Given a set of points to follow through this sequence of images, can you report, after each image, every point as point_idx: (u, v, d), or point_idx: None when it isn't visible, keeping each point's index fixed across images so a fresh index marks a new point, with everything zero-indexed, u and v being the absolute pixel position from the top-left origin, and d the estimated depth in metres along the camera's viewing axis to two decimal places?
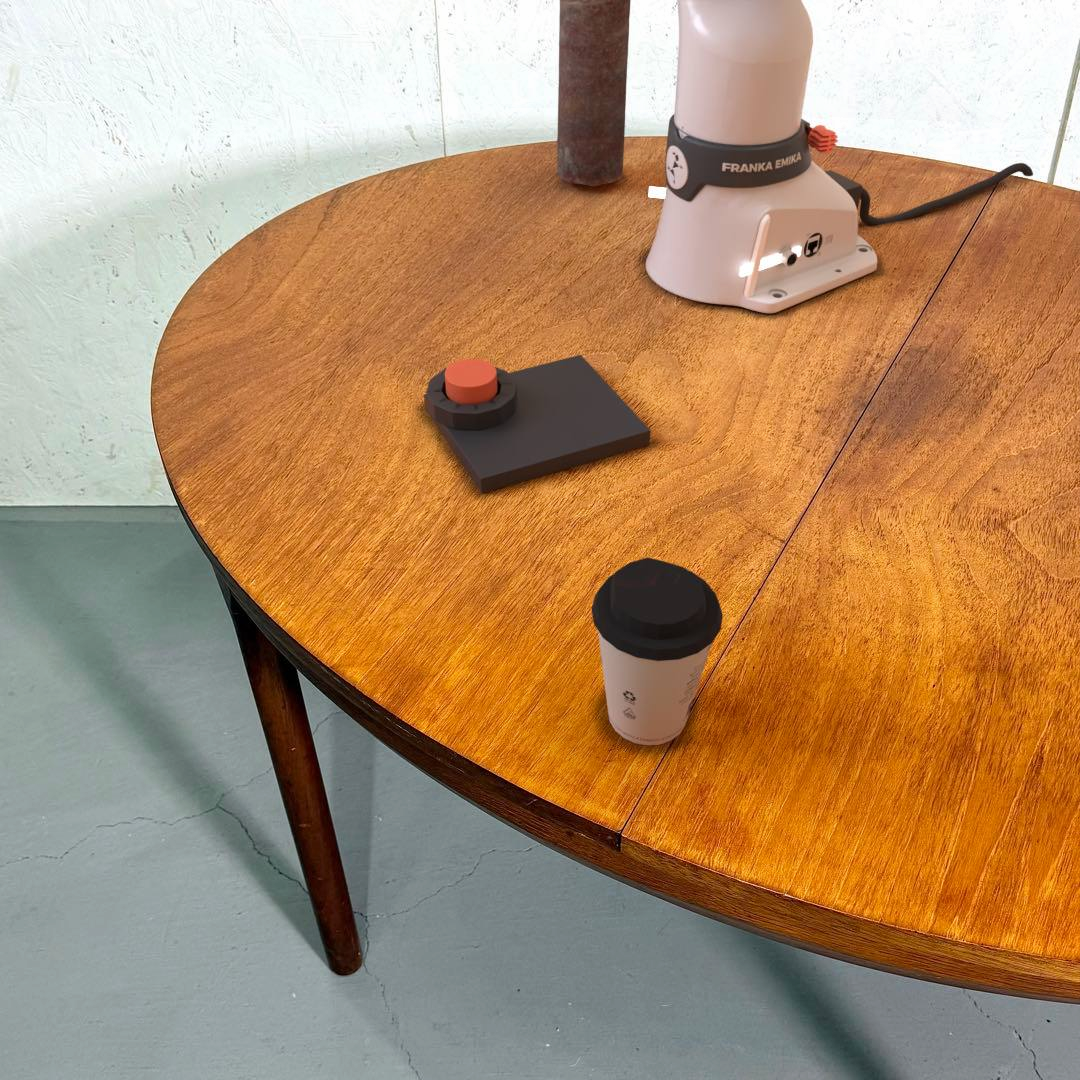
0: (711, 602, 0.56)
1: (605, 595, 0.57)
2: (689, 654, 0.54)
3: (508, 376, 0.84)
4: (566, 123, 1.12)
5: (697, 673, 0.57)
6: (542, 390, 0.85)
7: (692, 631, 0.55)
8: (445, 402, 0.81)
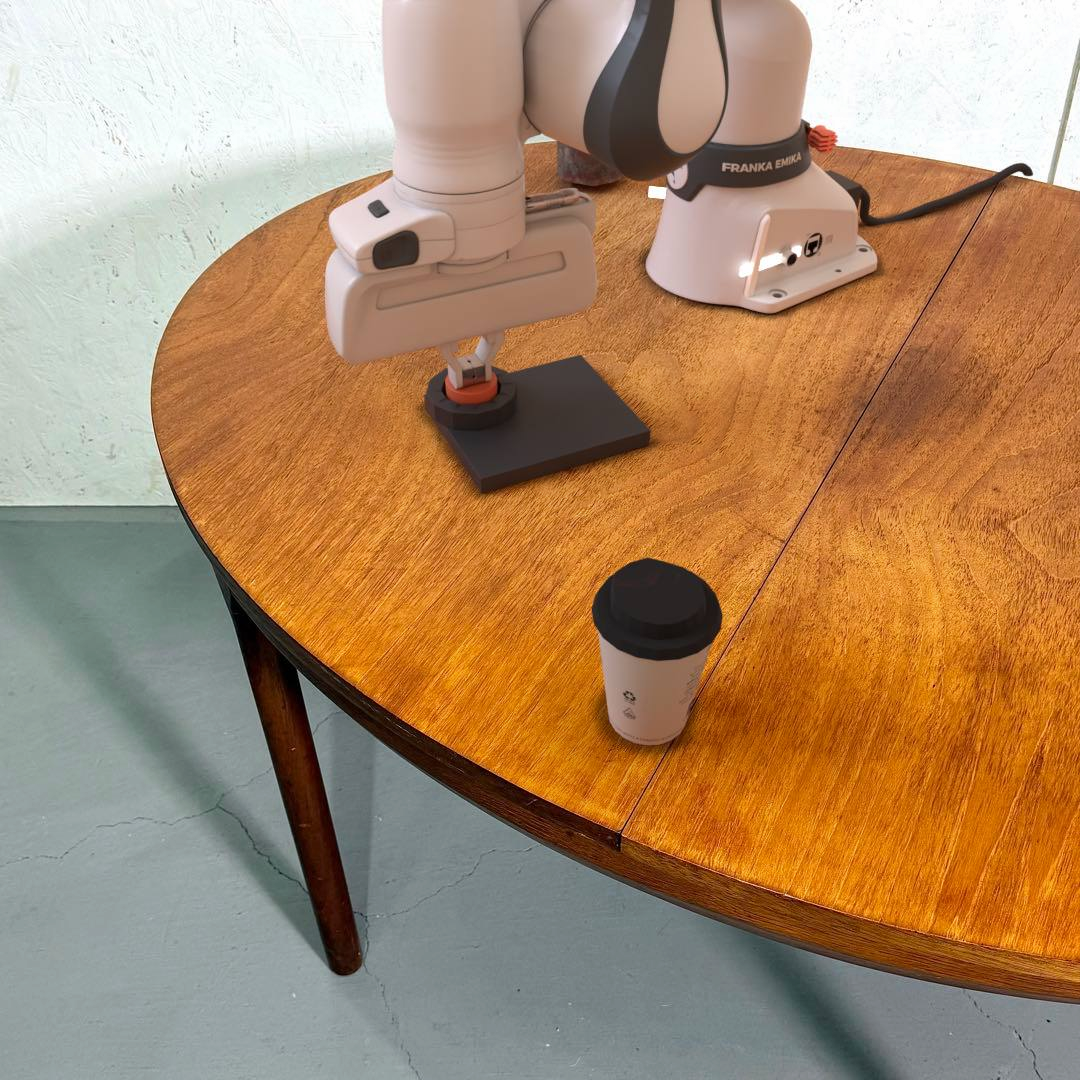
0: (711, 602, 0.56)
1: (605, 595, 0.57)
2: (689, 654, 0.54)
3: (508, 376, 0.84)
4: None
5: (697, 673, 0.57)
6: (542, 390, 0.85)
7: (692, 631, 0.55)
8: (445, 402, 0.81)
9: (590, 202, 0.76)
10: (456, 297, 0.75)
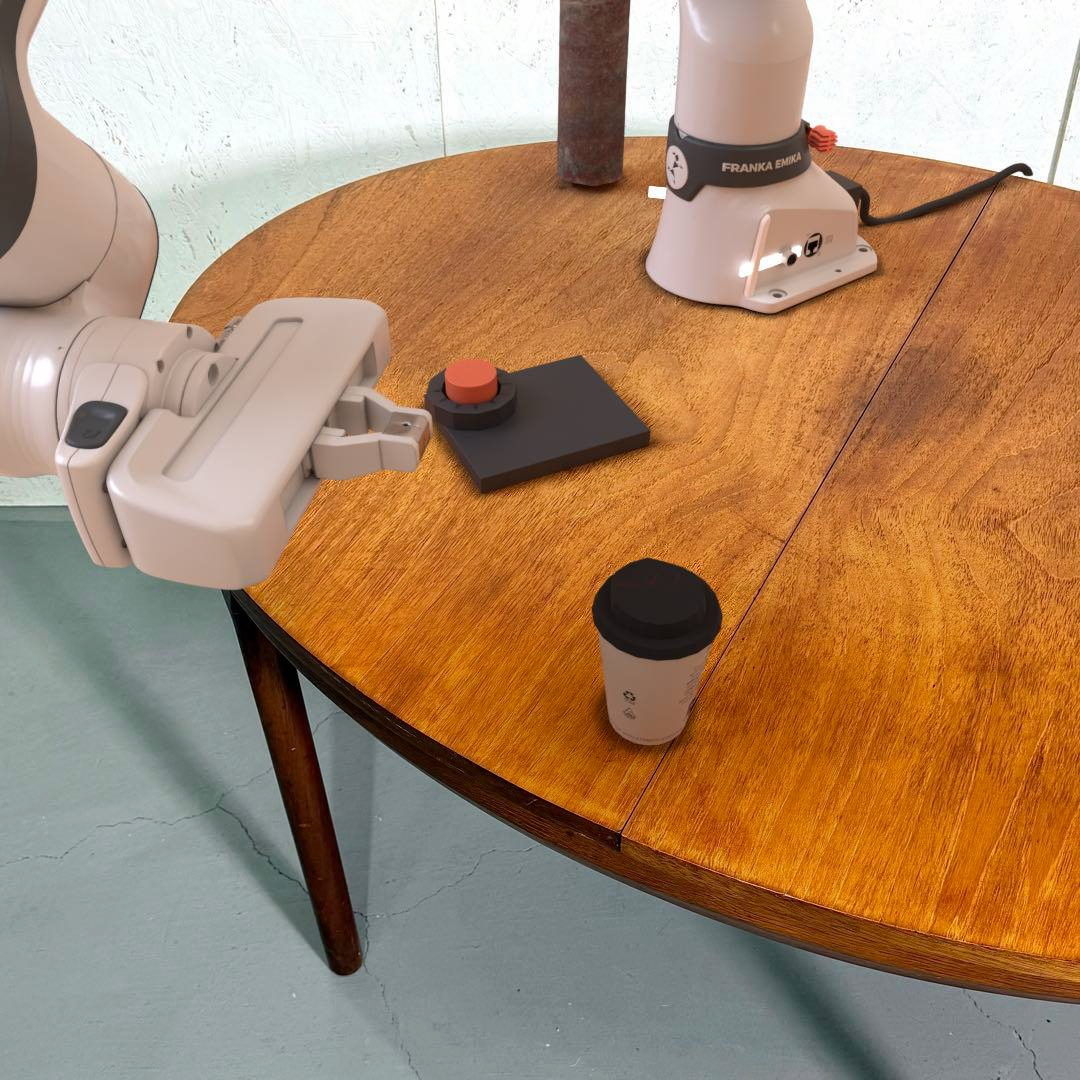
0: (711, 602, 0.56)
1: (605, 595, 0.57)
2: (689, 654, 0.54)
3: (508, 376, 0.84)
4: (566, 123, 1.12)
5: (697, 673, 0.57)
6: (542, 390, 0.85)
7: (692, 631, 0.55)
8: (445, 402, 0.81)
9: None
10: (246, 407, 0.51)
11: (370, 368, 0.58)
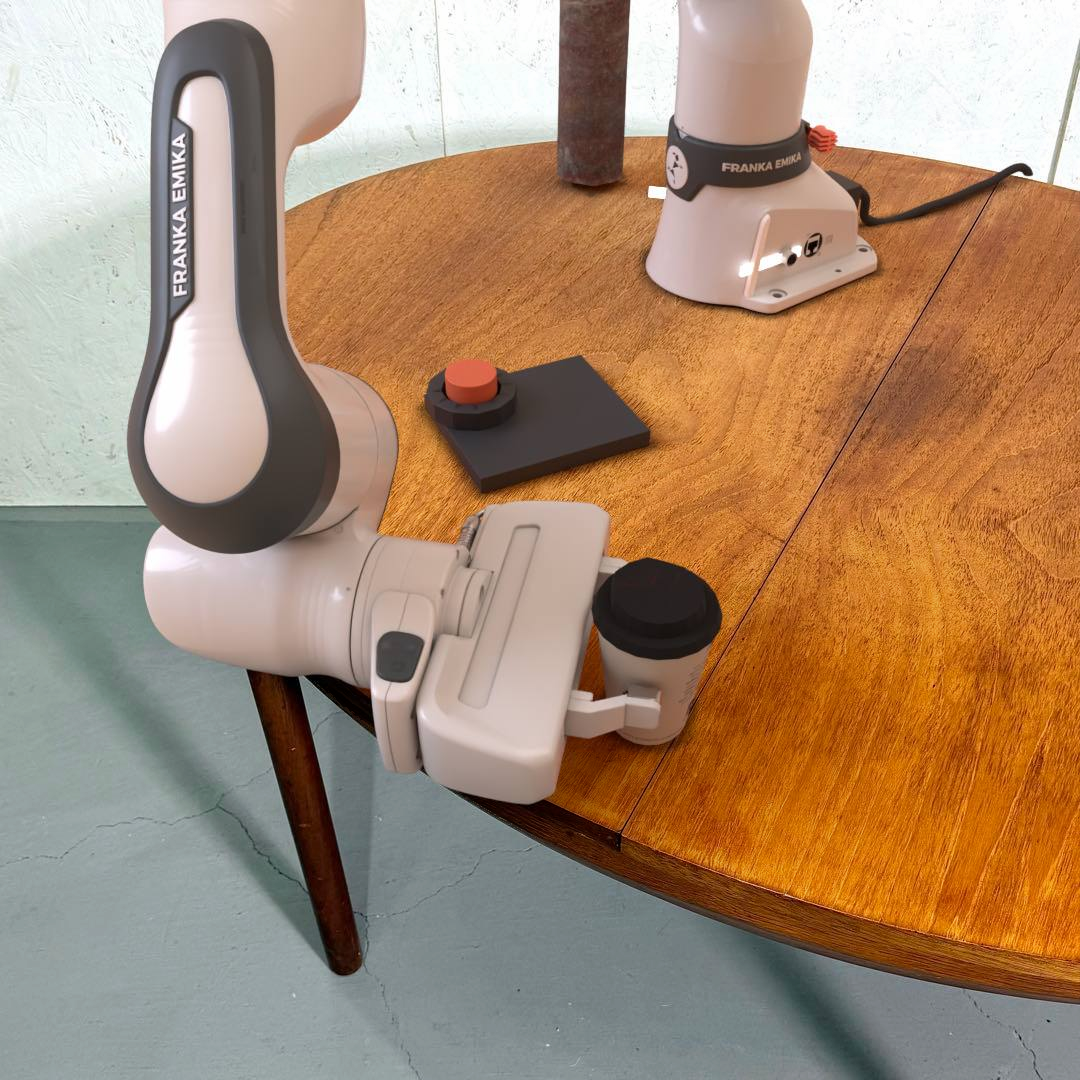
0: (711, 602, 0.56)
1: (605, 594, 0.57)
2: (689, 653, 0.54)
3: (508, 376, 0.84)
4: (566, 123, 1.12)
5: (697, 673, 0.57)
6: (542, 390, 0.85)
7: (692, 630, 0.55)
8: (445, 402, 0.81)
9: (486, 507, 0.67)
10: (514, 626, 0.57)
11: None
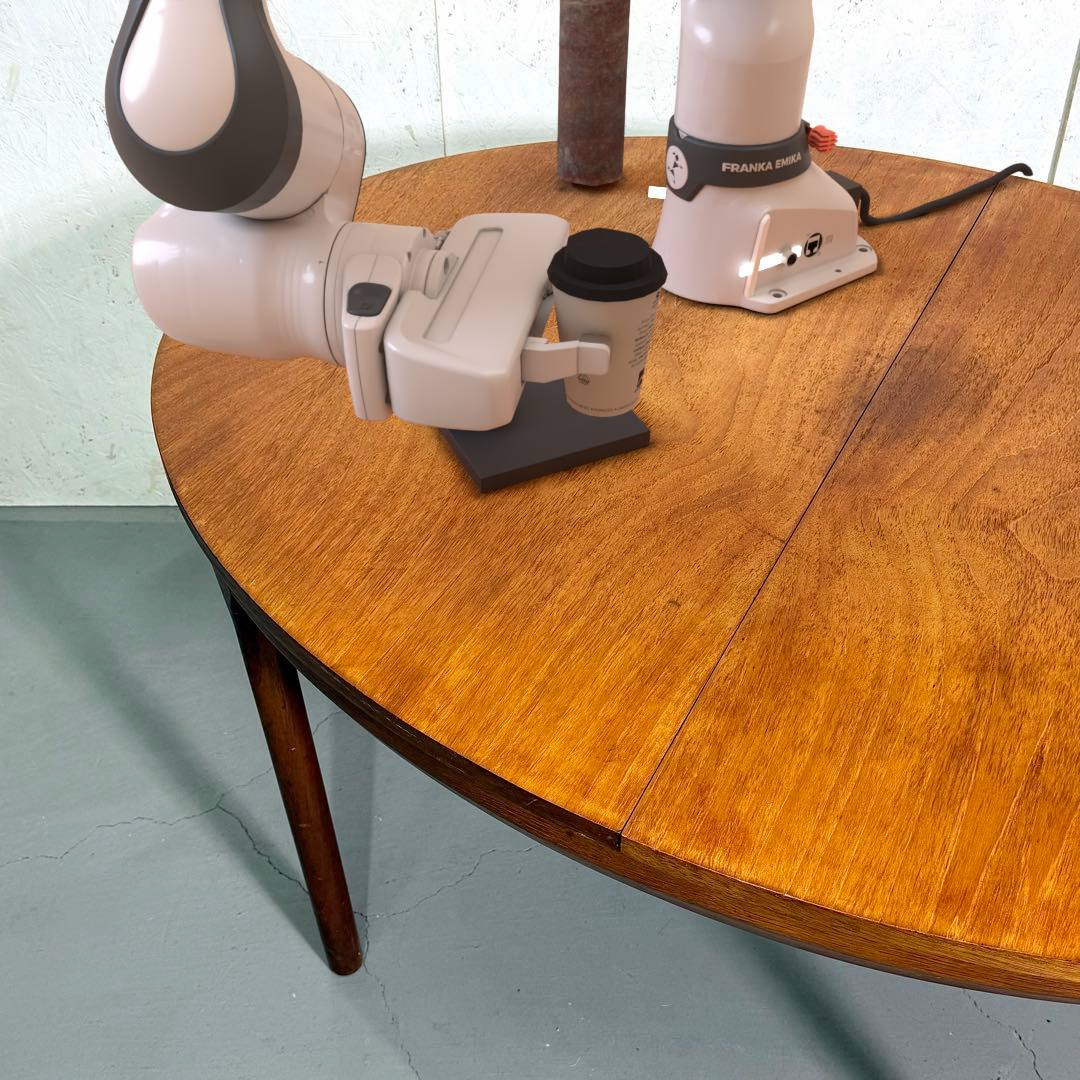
0: (657, 261, 0.61)
1: (559, 257, 0.61)
2: (635, 297, 0.59)
3: None
4: (566, 123, 1.12)
5: (645, 330, 0.61)
6: (542, 390, 0.85)
7: (638, 279, 0.59)
8: None
9: None
10: (476, 292, 0.62)
11: None
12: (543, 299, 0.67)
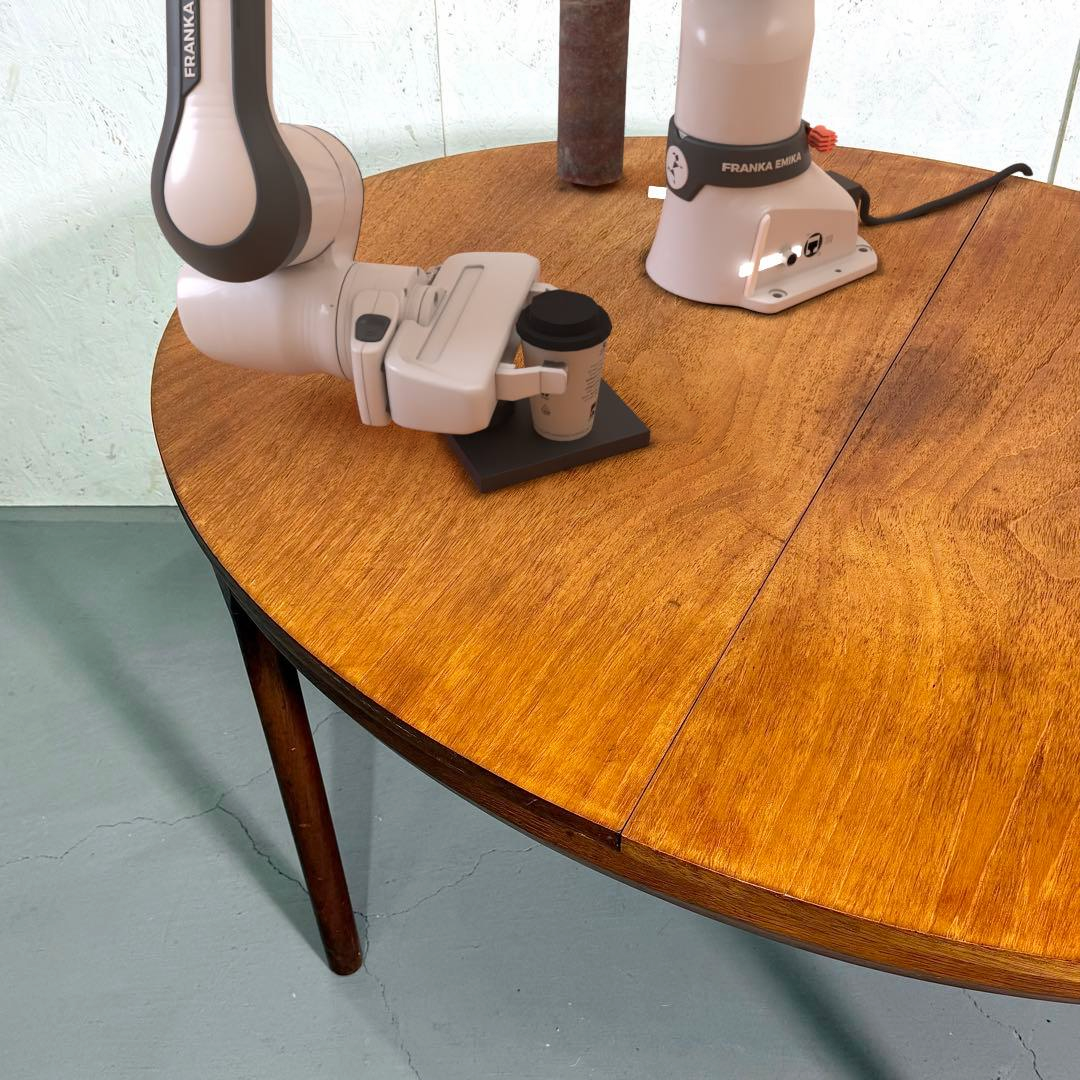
0: (604, 317, 0.76)
1: (525, 314, 0.76)
2: (584, 348, 0.74)
3: None
4: (566, 123, 1.12)
5: (594, 372, 0.76)
6: None
7: (588, 333, 0.74)
8: None
9: None
10: (460, 320, 0.76)
11: None
12: None
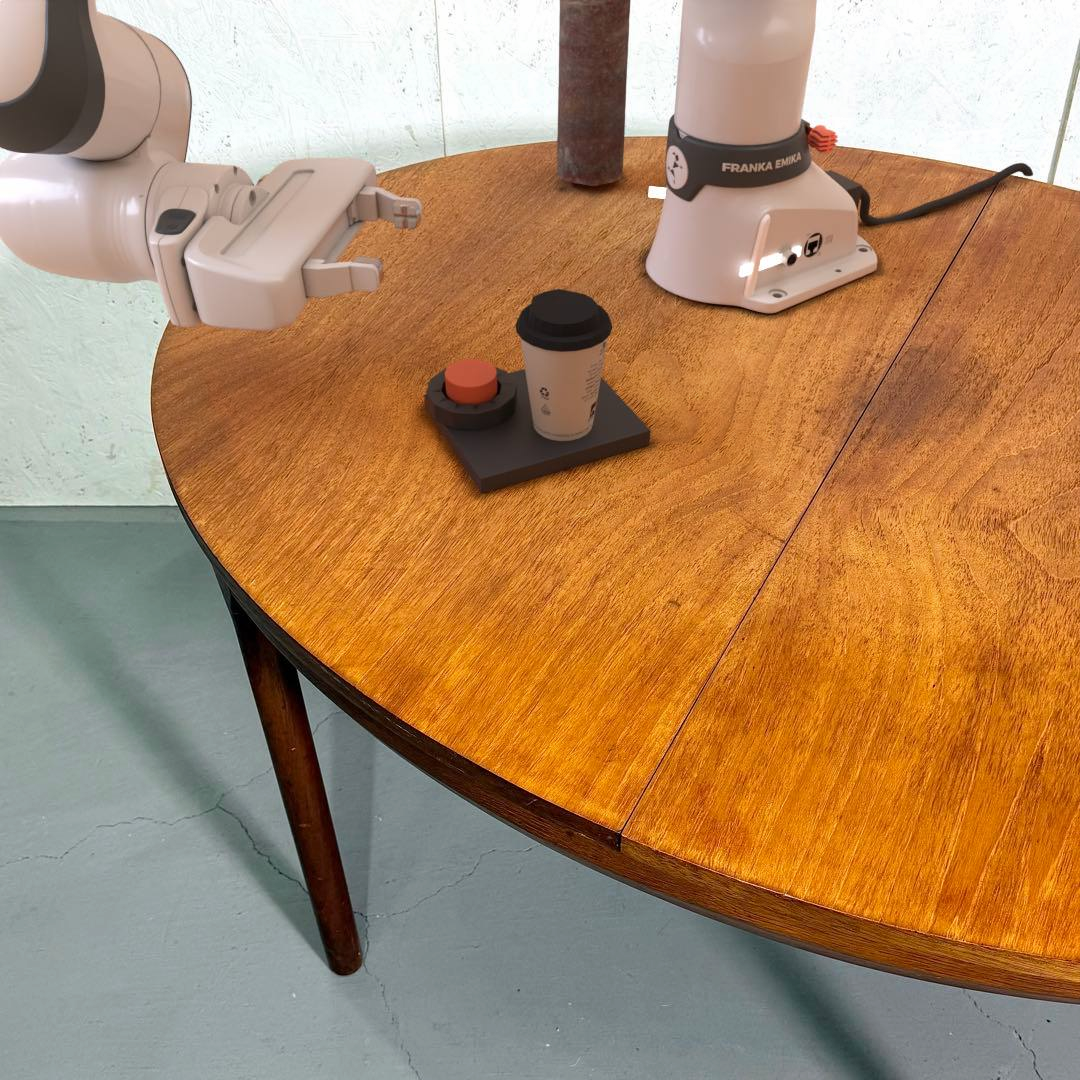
0: (604, 317, 0.76)
1: (525, 314, 0.76)
2: (584, 347, 0.74)
3: (508, 376, 0.84)
4: (566, 123, 1.12)
5: (594, 372, 0.76)
6: None
7: (588, 333, 0.74)
8: (445, 402, 0.81)
9: None
10: (276, 218, 0.73)
11: None
12: (347, 230, 0.78)
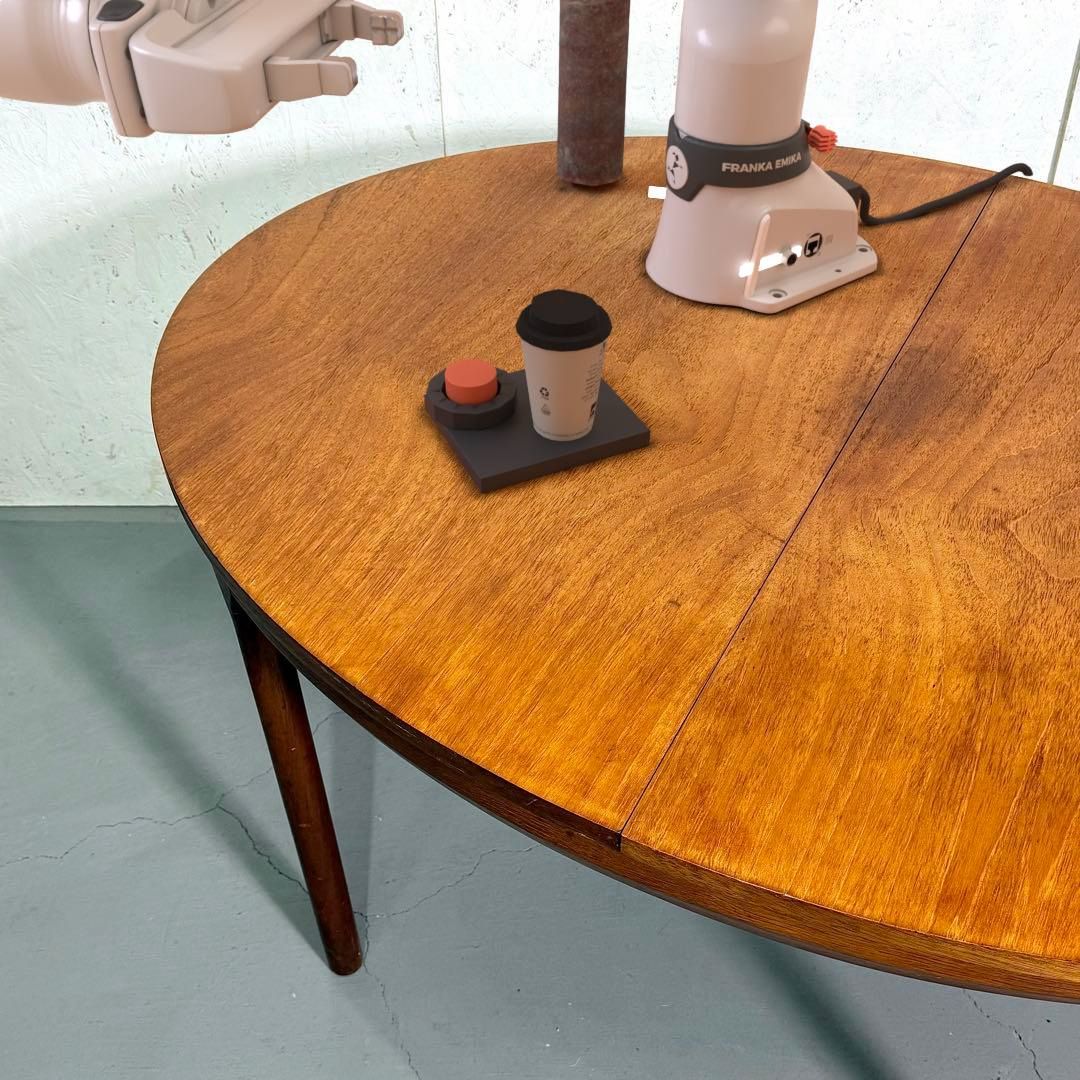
0: (604, 317, 0.76)
1: (525, 314, 0.76)
2: (584, 347, 0.74)
3: (508, 376, 0.84)
4: (566, 123, 1.12)
5: (594, 372, 0.76)
6: None
7: (588, 333, 0.74)
8: (445, 402, 0.81)
9: None
10: (237, 19, 0.65)
11: None
12: (319, 47, 0.70)
